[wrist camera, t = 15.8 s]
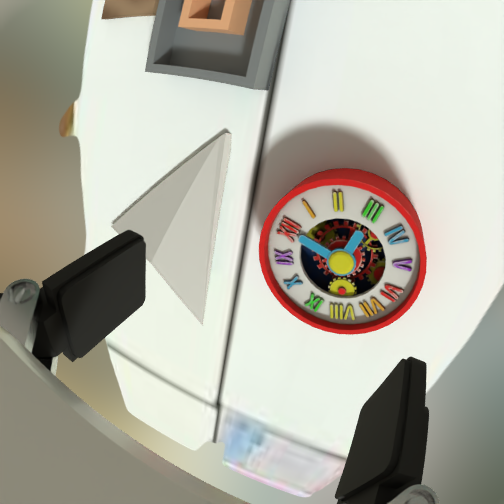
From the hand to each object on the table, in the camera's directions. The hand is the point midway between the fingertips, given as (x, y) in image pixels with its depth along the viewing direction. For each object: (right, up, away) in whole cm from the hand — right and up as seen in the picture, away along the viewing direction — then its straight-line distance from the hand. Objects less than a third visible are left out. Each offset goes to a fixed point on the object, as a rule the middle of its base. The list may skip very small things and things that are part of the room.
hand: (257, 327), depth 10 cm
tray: (-3, +33, +22) cm, 40 cm away
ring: (-4, +33, +21) cm, 39 cm away
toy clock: (+12, +3, +30) cm, 33 cm away
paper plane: (-15, +8, +41) cm, 45 cm away
